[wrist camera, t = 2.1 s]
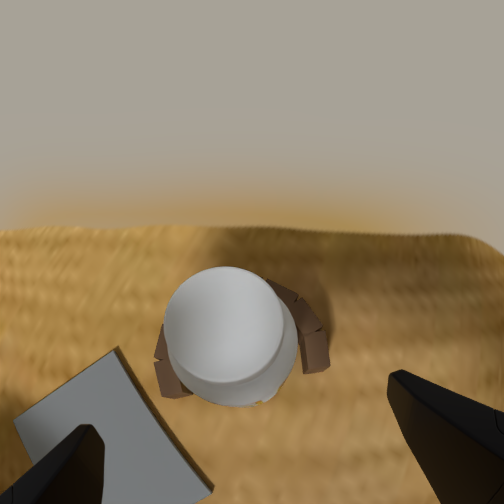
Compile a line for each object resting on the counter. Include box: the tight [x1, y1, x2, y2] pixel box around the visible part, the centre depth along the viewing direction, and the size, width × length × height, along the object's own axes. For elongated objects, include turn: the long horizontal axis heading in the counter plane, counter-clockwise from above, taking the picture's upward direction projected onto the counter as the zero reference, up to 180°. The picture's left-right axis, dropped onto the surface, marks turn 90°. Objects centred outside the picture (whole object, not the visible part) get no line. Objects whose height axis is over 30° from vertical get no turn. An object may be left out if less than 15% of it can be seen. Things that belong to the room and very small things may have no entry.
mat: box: [13, 351, 213, 504], centre depth 15 cm, size 11×11×1 cm
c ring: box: [154, 277, 330, 399], centre depth 18 cm, size 6×10×2 cm, turn 101°
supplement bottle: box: [164, 266, 298, 407], centre depth 14 cm, size 5×5×10 cm
